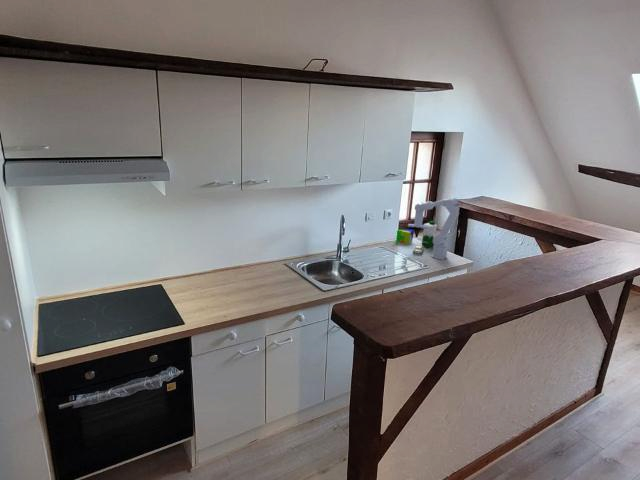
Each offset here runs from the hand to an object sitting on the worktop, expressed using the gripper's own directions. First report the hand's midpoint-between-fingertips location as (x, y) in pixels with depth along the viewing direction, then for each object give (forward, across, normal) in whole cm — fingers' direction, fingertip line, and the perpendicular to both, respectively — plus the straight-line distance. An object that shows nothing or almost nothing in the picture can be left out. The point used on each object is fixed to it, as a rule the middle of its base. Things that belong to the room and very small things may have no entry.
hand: (416, 237), depth 309 cm
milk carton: (+11, -8, -14) cm, 20 cm away
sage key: (+9, -3, +7) cm, 12 cm away
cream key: (+8, -3, +2) cm, 9 cm away
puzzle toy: (+11, +10, -18) cm, 23 cm away
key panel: (+10, -3, +2) cm, 11 cm away
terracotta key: (+8, -3, -4) cm, 9 cm away
